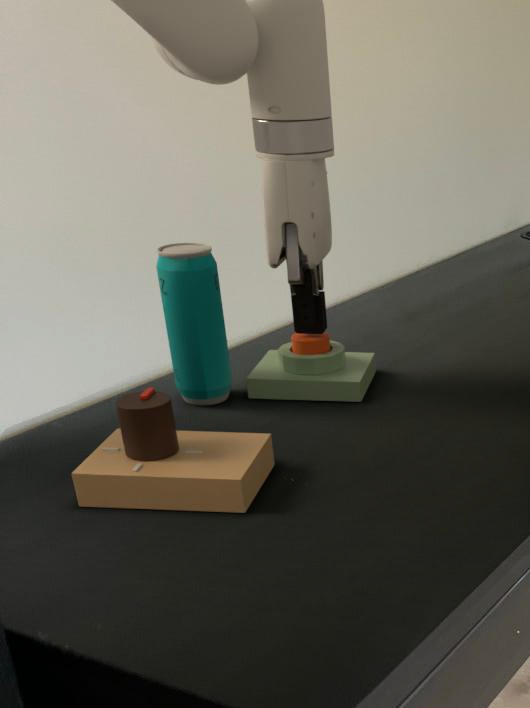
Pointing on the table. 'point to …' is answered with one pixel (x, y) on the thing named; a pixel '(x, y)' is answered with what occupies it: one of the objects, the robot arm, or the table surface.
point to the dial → (147, 425)
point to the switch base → (312, 375)
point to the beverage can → (194, 322)
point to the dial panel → (178, 474)
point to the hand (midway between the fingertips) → (311, 331)
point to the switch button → (310, 343)
